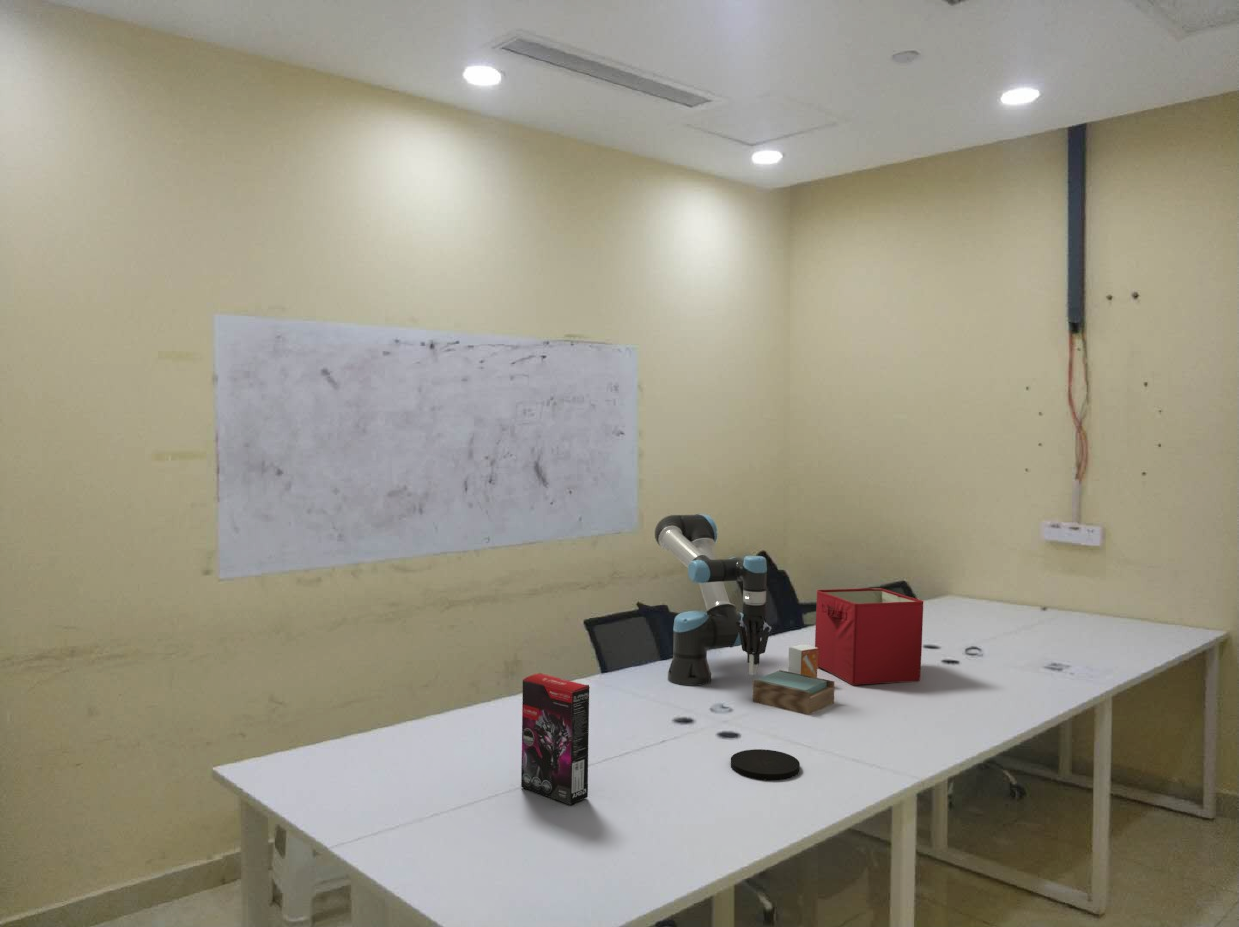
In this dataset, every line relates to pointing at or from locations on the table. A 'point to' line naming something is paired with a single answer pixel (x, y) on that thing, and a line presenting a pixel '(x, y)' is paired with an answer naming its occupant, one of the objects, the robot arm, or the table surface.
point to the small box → (803, 660)
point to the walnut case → (793, 696)
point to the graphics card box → (555, 737)
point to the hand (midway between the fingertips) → (753, 673)
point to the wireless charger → (765, 765)
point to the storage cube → (869, 635)
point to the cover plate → (794, 681)
